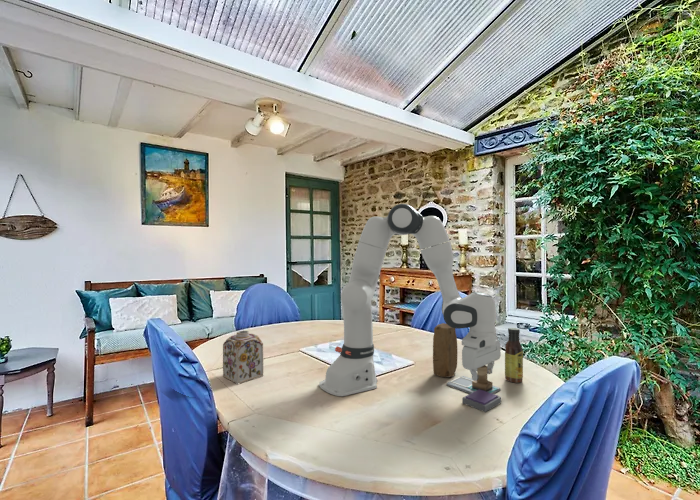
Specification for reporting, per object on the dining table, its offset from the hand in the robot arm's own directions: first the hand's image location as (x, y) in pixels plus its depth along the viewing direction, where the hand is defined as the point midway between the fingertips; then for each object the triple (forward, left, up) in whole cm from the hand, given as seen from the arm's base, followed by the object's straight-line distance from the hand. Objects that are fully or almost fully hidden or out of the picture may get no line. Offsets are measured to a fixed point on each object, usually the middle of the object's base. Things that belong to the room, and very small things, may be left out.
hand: (482, 376), depth 123 cm
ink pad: (-9, -5, -5) cm, 11 cm away
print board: (0, +4, -5) cm, 6 cm away
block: (+4, +18, -5) cm, 19 cm away
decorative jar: (-60, +68, -5) cm, 91 cm away
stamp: (0, 0, -4) cm, 4 cm away
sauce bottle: (+18, -3, -5) cm, 19 cm away
